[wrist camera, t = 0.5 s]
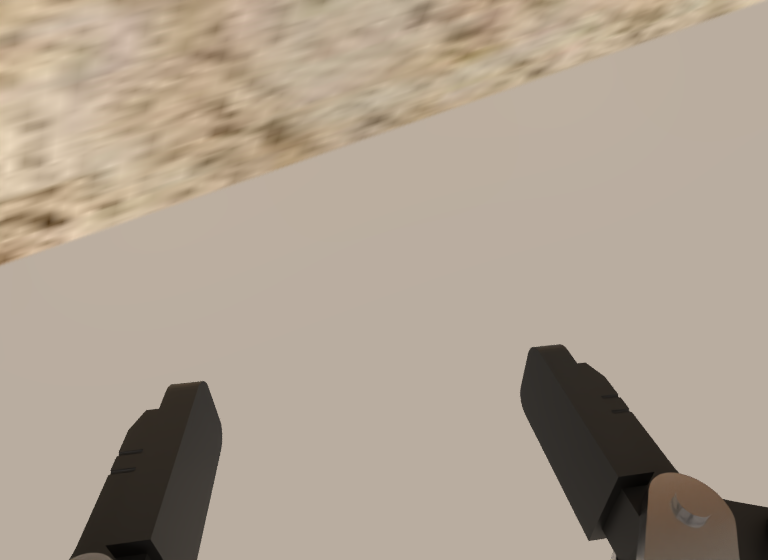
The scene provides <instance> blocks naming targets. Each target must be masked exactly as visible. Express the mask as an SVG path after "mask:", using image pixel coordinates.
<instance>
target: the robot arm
mask: <svg viewBox="0 0 768 560" xmlns="http://www.w3.org/2000/svg"><path fill="white" fill-rule="evenodd" d="M520 396H521V403H522V407H523V410H524V412H525V415H526V417H527V419H528V421H529V423H530V425H531V427H532V429H533V431H534V433H535V435H536V437H537V439H538V441H539V443H540V445H541V446H542V449H543V451H544V453H545V455H546V457H547V459H548V461H549V463H550V465H551V467H552V469H553V471H554V473H555V475H556V476H557V479H558V481H559V482H560V485H561V486H562V488H563V491H564V493H565V495H566V497H567V499H568V500H569V502H570V505H571V506H572V509H573V510H574V513H575V515H576V516H577V518H578V520H579V522H580V524H581V526H582V528H583V530H584V532H585V534H586V536H587V538H588V540H589V541H591V540H598V539H604V538H607V539H608V541H609V543H610V545H611V547H612V549H613V550H614V552H613V553H612V557H611V560H768V507H762V506H756V505H750V504H745V503H739V502H734V501H729V500H725V499H722V498H721V497H720V496H719V495H718V494H717V493H716V492H715V491H714V490H713V489H711V488H710V487H708V486H707V485H706V484H704V483H702V482H701V481H699V480H697V479H695V478H692V477H690V476H687V475H683V474H680V473H678V471H677V470H676V469H675V468H674V467H673V465H672V464H671V463H670V461H669V460H668V459H667V458H666V456H665V455H664V454H663V452H662V451H661V450H660V448H659V447H658V446H657V444H656V443H655V442H654V441H653V439H652V438H651V437H650V435H649V434H648V433H647V431H646V430H645V429H644V427H643V426H642V425H641V424H640V422H639V421H638V420H637V419H636V417H635V416H634V414H633V413H632V412H629V408H628V407H627V405H626V404H625V403H624V401H623V400H622V399H621V398H619V397H618V394H617V392H616V391H615V390H614V389H613V387H612V386H611V384H610V383H609V382H608V381H607V379H606V378H605V377H604V376H603V375H602V374H600V373H599V372H598V371H596V370H595V369H593V368H592V367H591V366H589V365H588V364H587V363H578V364H577V363H576V361H575V360H574V358H573V357H572V356H571V354H570V353H569V351H568V350H567V349H566V347H564V346H563V345H560V344H559V345H550V346H540V347H532V348H531V349H530V350H529V353H528V356H527V361H526V366H525V370H524V375H523V380H522V384H521V390H520ZM221 446H222V428H221V422H220V419H219V417H218V414H217V411H216V408H215V405H214V402H213V399H212V396H211V393H210V391H209V388H208V385H207V383H206V382H204V381H200V382H192V383H181V384H172V385H170V386H169V387H168V388H167V391H166V393H165V395H164V398H163V400H162V403H161V406H160V408H159V409H153V410H146V411H145V412H144V413H143V415H142V416H141V417H140V418H139V419H138V420H137V421H136V422H135V424H134V425H133V426H132V427H131V428H130V429H129V430H128V432H127V435H126V437H125V439H124V441H123V444H122V446H121V448H120V450H119V456H117V457H116V459H115V462H114V464H113V466H112V468H111V474H110V475H108V477H107V480H106V482H105V484H104V486H103V489H102V491H101V493H100V495H99V498H98V500H97V502H96V504H95V507H94V509H93V511H92V513H91V515H90V518H89V520H88V522H87V524H86V527H85V529H84V531H83V533H82V536H81V538H80V540H79V542H78V545H77V547H76V549H75V551H74V553H73V554H72V556H71V558H70V559H69V560H197V556H198V552H199V547H200V543H201V538H202V534H203V529H204V525H205V520H206V516H207V511H208V506H209V502H210V498H211V493H212V488H213V484H214V479H215V475H216V470H217V466H218V461H219V456H220V452H221Z"/></svg>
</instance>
